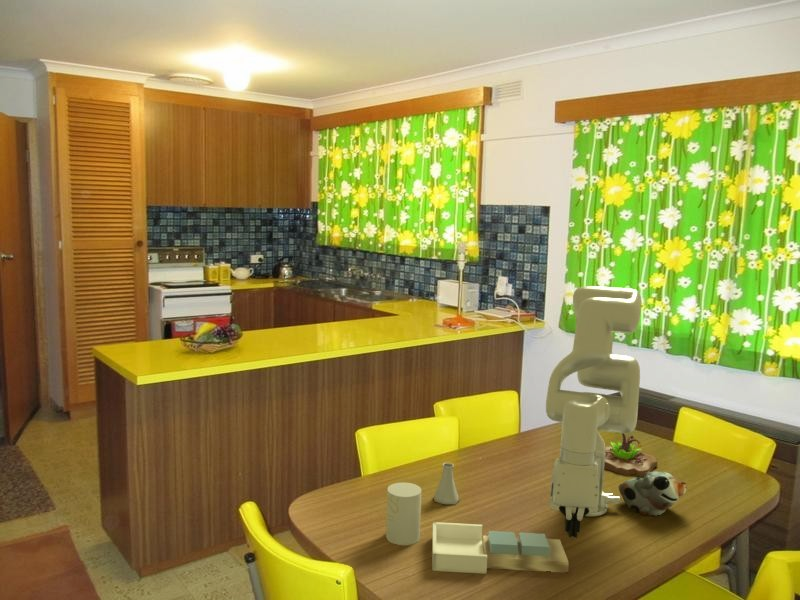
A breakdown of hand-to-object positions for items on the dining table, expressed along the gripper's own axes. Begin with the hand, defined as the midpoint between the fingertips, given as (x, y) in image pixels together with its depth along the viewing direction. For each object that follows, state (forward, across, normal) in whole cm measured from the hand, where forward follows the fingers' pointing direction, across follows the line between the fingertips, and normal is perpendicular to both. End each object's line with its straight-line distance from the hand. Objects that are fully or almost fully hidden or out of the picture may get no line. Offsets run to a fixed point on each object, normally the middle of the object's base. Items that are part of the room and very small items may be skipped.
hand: (571, 534), depth 146 cm
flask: (+6, +27, -30) cm, 41 cm away
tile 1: (+4, +15, -1) cm, 16 cm away
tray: (+7, +25, -1) cm, 26 cm away
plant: (+5, -30, -64) cm, 71 cm away
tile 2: (+4, +8, -1) cm, 9 cm away
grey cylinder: (+7, +38, -8) cm, 40 cm away
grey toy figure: (+6, -28, -31) cm, 43 cm away
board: (+7, +10, -1) cm, 12 cm away
